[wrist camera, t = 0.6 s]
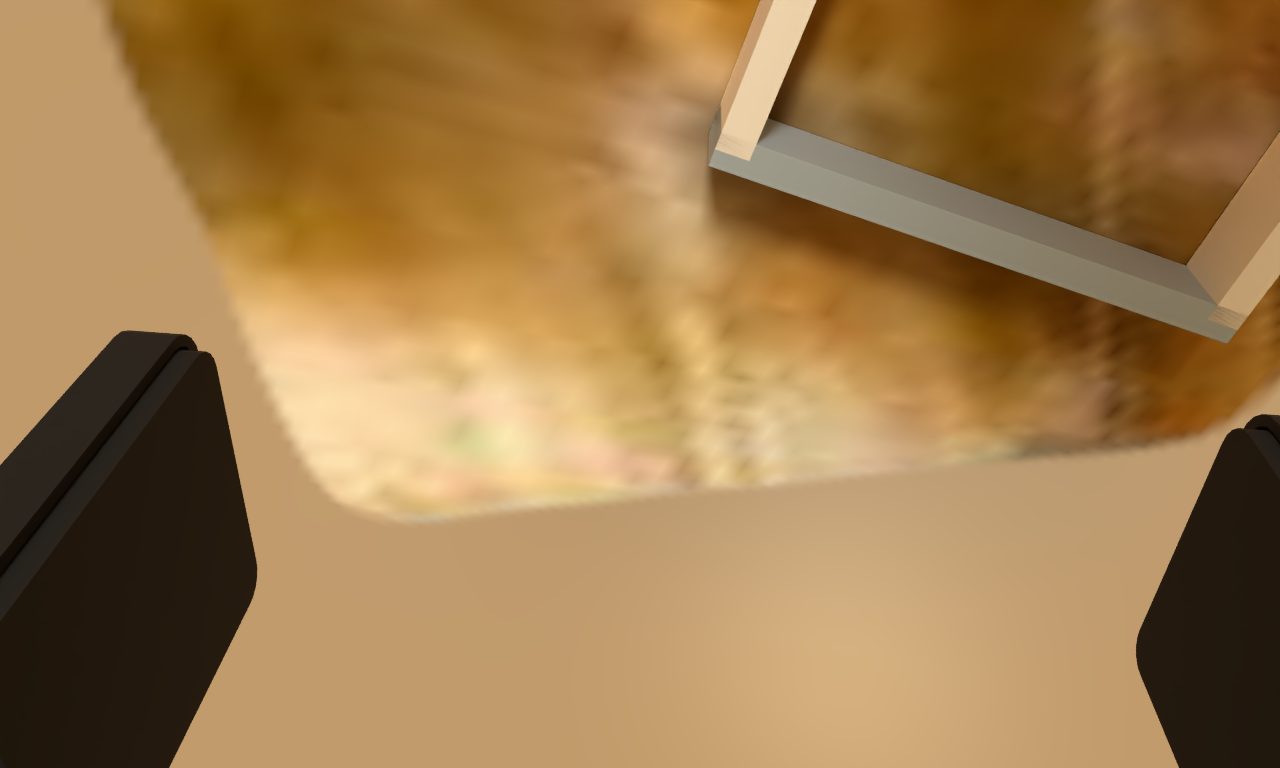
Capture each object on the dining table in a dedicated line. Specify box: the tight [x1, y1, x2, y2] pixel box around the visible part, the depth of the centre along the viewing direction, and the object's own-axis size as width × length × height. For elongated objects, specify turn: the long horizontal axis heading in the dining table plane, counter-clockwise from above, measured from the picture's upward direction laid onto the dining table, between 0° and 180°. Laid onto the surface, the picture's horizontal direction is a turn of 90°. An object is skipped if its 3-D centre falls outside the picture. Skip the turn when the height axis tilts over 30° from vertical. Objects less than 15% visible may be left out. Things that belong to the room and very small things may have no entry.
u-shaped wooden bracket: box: [708, 0, 1280, 344], centre depth 34 cm, size 13×19×3 cm
